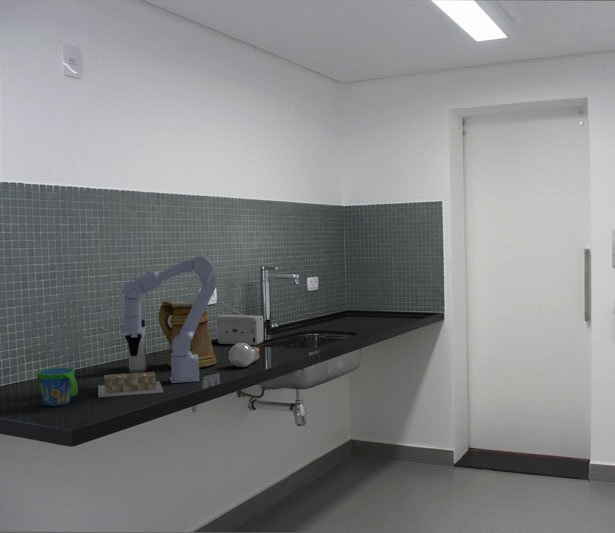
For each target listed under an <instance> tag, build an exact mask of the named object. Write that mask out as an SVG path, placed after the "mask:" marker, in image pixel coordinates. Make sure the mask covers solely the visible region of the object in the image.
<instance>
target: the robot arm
mask: <svg viewBox="0 0 615 533" xmlns="http://www.w3.org/2000/svg"><path fill="white" fill-rule="evenodd" d="M193 272H194V273H195V274H196V275H197V276H198V277H199V280H200V283H201V287H200V289H199V292H198V294H197V296H196V297H195V300H194V304H193V306H192V308H191V310H190V312H189V314H188V317H187V319H186V321H185V323H184V325H183V327H182V329H181V331H180V333H179V334H178V335H177V336H175V337H174V339H173V342H172V350H173V353H172V354H171V367H170V369H171V371H170V372H171V377H169V380H170V382H171V384H179V383H192V382H200V367H199V359H198V355H197V354H194V355H193V354H192V352H190V342H191V340H192V337H193V335H194V332H195V330H196V328H197V326H198V324H199V322H200V320H201V318H202V315H203V313H204V311H206V309H207V306H208V305H209V303H210V300H211V299H212V296H213V294H214V292H215V290H216V288H217V281H216V280H217V279H216V274H215V267H214V265H213V263H212V262H211V260H210V259H209V257H207V256H205V255H199V256H197V257H195V258H194V257H193V258H189V259H185V260H182V261H180V262H179V263H176V264H175V265H173V266H169V268H166V269H165V270H162V271H160V272H157V271H155V270H154V271H151V270H149V271H147V272H146V274H143V275H142V276H140V277H139V276H138V277H134V278H133V280H131V281H128V282H126V283H125V284H124V286H123V288H122V294H123V295H124V296H123V320H124V322H123V323H124V324H123V326H124V328H122V329H120V332H121V333H126V334H125V335H124V338H125V341H126V342H127V347H128V346H129V351H130V355H131V356H137V354H138V347H139V343H140V340H141V338H142V335H141V334H137V333H139V332H141V331H142V325H141V320H142V303H141V294H146V293H148V292H151V291H153V290H155V289H157V288H160V287H161V286H162V283H163V281H166V280H168V279H170V278H172V277H173V278H174V277H175V276H177V275H180V274H183V273H193ZM128 333H130V335H128Z"/></svg>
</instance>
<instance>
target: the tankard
mask: <svg viewBox="0 0 615 533" xmlns="http://www.w3.org/2000/svg"><path fill="white" fill-rule="evenodd" d="M194 302H195V301H194ZM194 302H193V301H191V302H172V301H166V300H162V302H161V304H160V307H159V310H158V323H159V326H160V328H161V330H162V333H163V334H164V336H165V338H166V339H167V341H168V343H169V346H170V347H169V354H168V355H167V365H168V367H170V368H171V354H172V353H173V350H172V342H173V339H174V337H175V336H177V335H178V334H179V333H180V331H181V329H182V327H183V325H184V323H185V321H186V319H187V317H188V314H189V312H190V310H191V308H192V306H193V304H194ZM208 314H209V313H208V312H207V310H205V311H204V313H203V315H202V318H201V320H200V322H199V324H198V326H197V328H196V330H195V332H194V335H193V337H192V340H191V342H190V352H192V354H193V355H194V354H197V355H198V359H199V368H204V367H209V366H213V365H216V363H217V357H216V354H215V353H214V347H213V344H212V338H211V334H210V328H209V322H208V321H209V315H208ZM169 318H170V321H169ZM169 323H170V324H171V326H170V324H169Z"/></svg>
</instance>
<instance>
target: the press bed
mask: <svg viewBox="0 0 615 533" xmlns="http://www.w3.org/2000/svg"><path fill="white" fill-rule="evenodd" d="M97 387H98V388H97V395H98V398H109V397H121V396H122V397H123V396H134V395H149V394H159V393H164V389H163V386H162V384H161V382H160V381H159V380H158V381H156V388H145V389H132V390H119V391H106V392H105V384H102V385H99V384H98V386H97Z"/></svg>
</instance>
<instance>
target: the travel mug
mask: <svg viewBox="0 0 615 533" xmlns="http://www.w3.org/2000/svg"><path fill="white" fill-rule="evenodd" d="M141 325H142V331H141V332H139V333H137V334H141V335H142V338H141V340H140V343H139V347H138V354H137V356H131V355H130V351H129V346H128V345H127V347H128V348H127V349H128V372H129V373H142V372H146V371H147V354H146V352H147V349H146V321H145V319H141ZM127 335H130V333H127Z"/></svg>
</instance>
